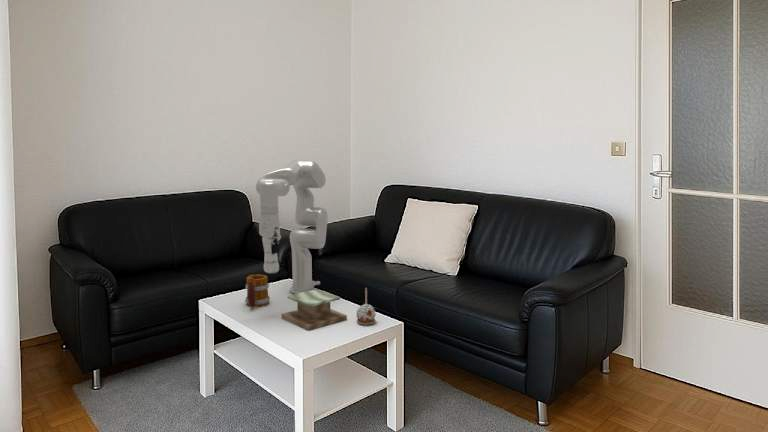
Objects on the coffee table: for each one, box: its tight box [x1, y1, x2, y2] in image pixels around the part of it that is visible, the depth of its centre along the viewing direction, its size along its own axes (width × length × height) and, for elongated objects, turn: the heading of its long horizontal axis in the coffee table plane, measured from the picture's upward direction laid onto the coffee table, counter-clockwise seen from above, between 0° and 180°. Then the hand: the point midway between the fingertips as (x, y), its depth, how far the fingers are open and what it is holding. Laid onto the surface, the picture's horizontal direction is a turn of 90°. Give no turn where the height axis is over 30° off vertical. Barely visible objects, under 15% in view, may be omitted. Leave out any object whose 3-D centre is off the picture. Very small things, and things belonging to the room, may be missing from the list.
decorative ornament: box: [356, 287, 376, 326], centre depth 253 cm, size 8×8×15 cm
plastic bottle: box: [262, 235, 280, 274], centre depth 258 cm, size 6×7×20 cm
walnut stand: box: [281, 288, 348, 331], centre depth 257 cm, size 20×20×10 cm
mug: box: [244, 274, 271, 309], centre depth 275 cm, size 11×16×15 cm, turn 174°
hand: (270, 251), depth 258 cm, fingers closed on plastic bottle, 6 cm apart
